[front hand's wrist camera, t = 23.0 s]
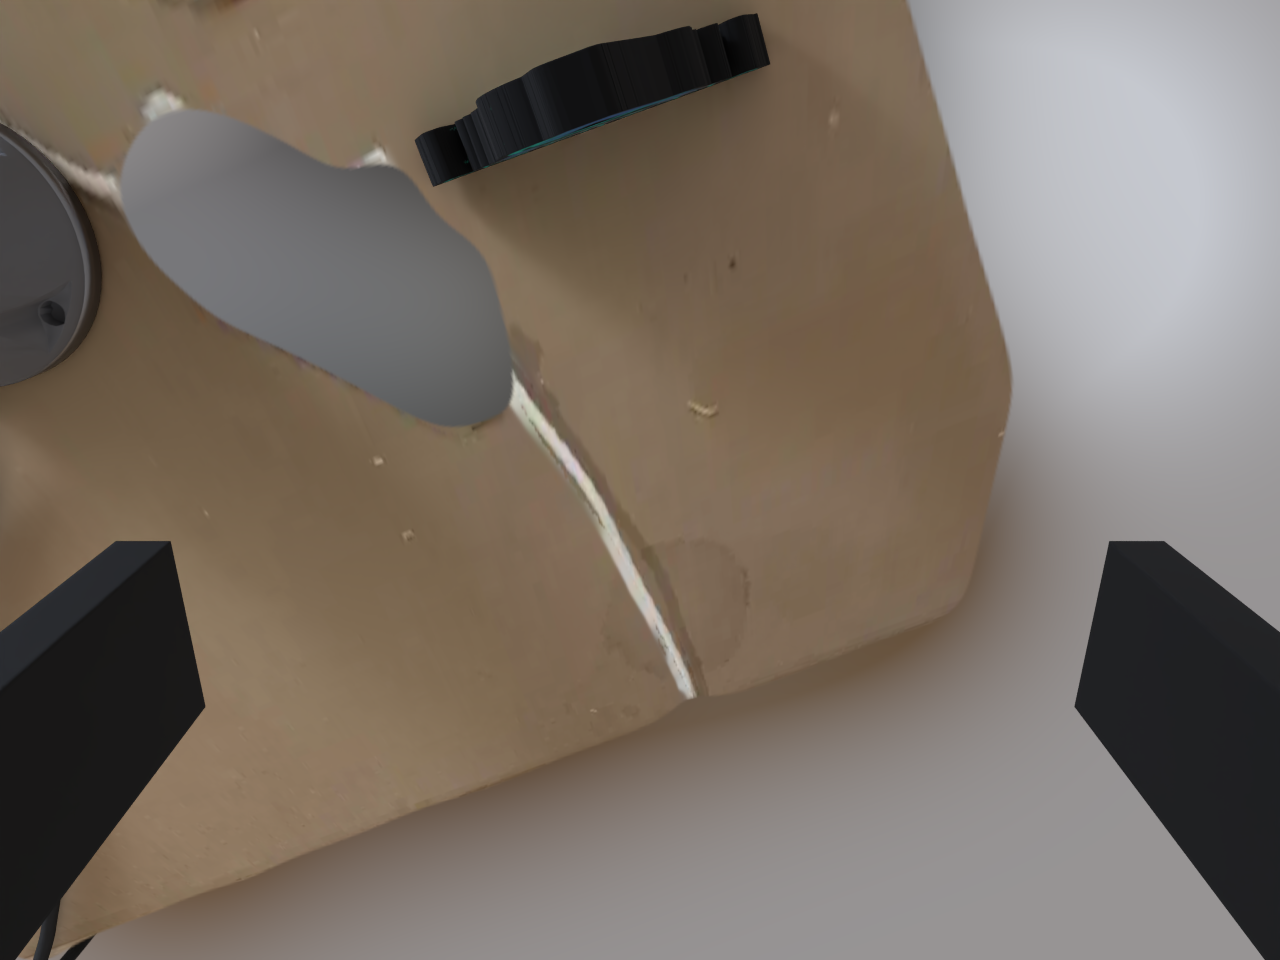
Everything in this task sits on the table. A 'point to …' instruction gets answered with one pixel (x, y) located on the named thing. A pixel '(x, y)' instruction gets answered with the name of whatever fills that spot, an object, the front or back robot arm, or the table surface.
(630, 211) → the table surface
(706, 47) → the decorative sign
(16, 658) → the front robot arm
